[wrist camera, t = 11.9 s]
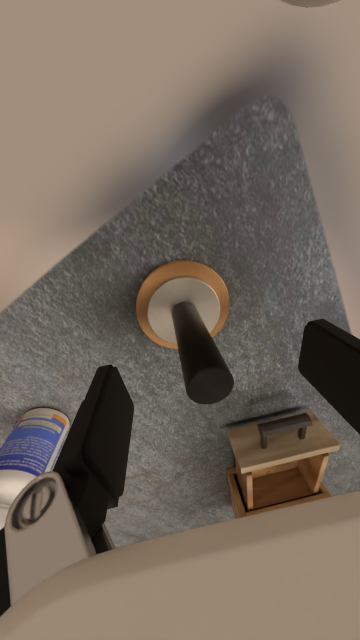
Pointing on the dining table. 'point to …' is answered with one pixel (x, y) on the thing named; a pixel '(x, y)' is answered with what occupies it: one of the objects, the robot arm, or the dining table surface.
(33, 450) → the pill bottle
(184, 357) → the rod on disc base
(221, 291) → the disc
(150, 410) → the dining table surface
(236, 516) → the cabinet
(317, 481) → the drawer
